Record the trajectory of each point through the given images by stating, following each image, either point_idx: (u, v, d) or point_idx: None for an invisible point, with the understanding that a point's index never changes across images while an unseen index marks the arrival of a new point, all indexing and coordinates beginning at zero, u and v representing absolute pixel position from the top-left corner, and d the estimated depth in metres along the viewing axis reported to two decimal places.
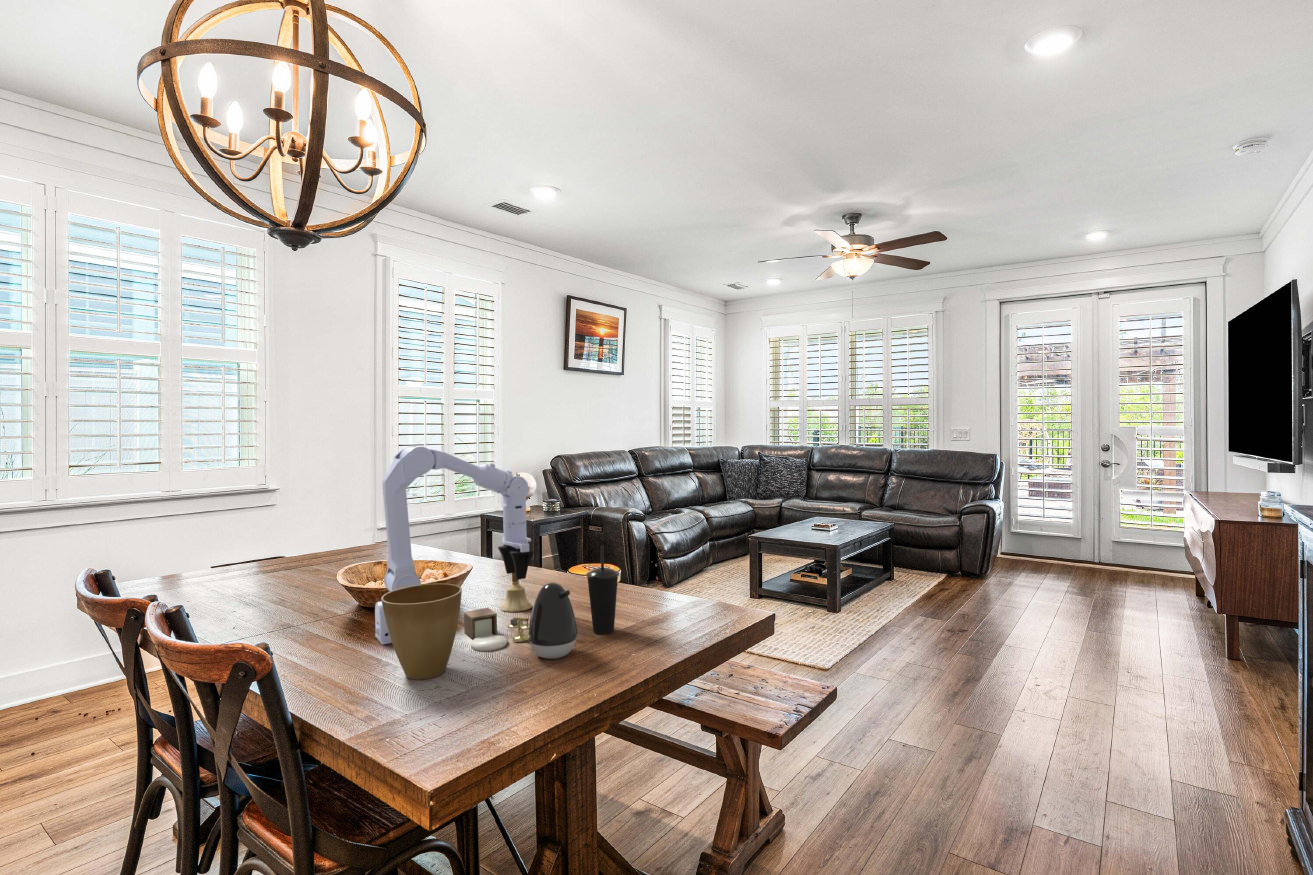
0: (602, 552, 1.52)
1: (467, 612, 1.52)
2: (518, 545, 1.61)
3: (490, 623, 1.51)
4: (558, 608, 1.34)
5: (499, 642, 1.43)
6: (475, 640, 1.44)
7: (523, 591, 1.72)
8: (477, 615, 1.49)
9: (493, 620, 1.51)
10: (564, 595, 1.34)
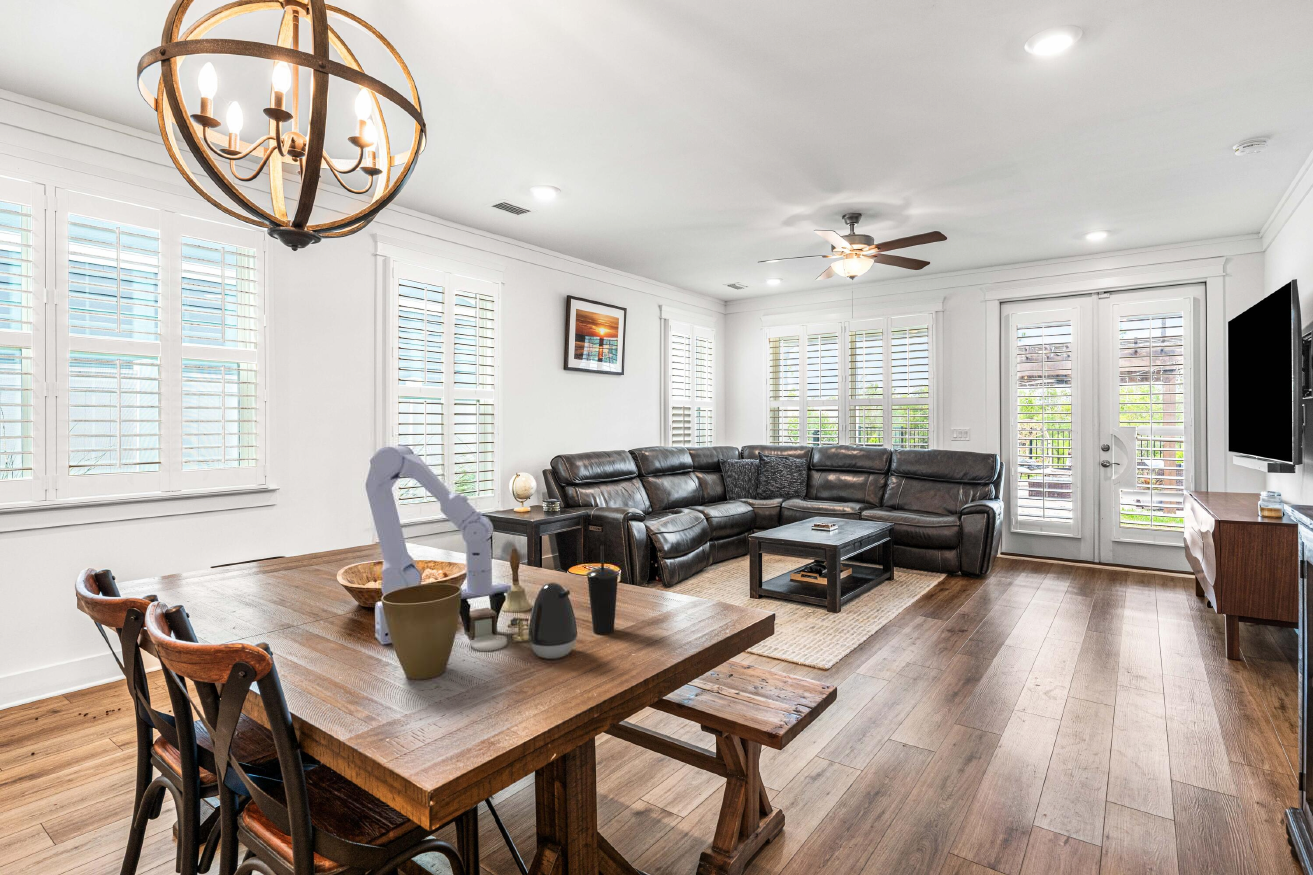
0: (602, 552, 1.52)
1: None
2: None
3: (490, 623, 1.51)
4: (558, 608, 1.34)
5: (499, 642, 1.43)
6: (475, 640, 1.44)
7: (523, 592, 1.72)
8: (477, 615, 1.49)
9: (493, 620, 1.51)
10: (564, 595, 1.34)
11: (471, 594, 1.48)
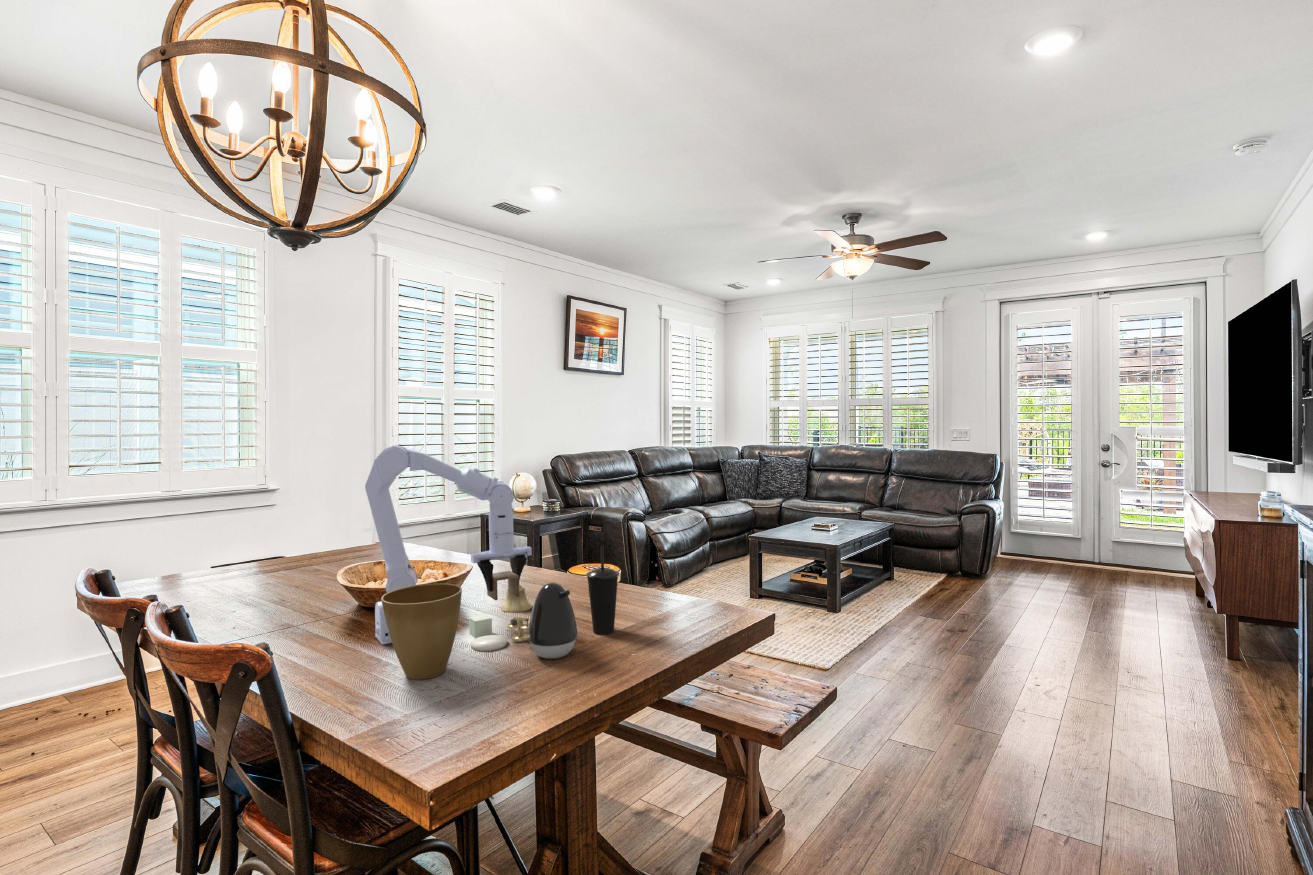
0: (602, 552, 1.52)
1: None
2: None
3: (490, 623, 1.51)
4: (558, 608, 1.34)
5: (499, 642, 1.43)
6: (475, 640, 1.44)
7: (523, 592, 1.72)
8: (500, 577, 1.55)
9: (515, 582, 1.57)
10: (564, 595, 1.34)
11: (494, 555, 1.54)
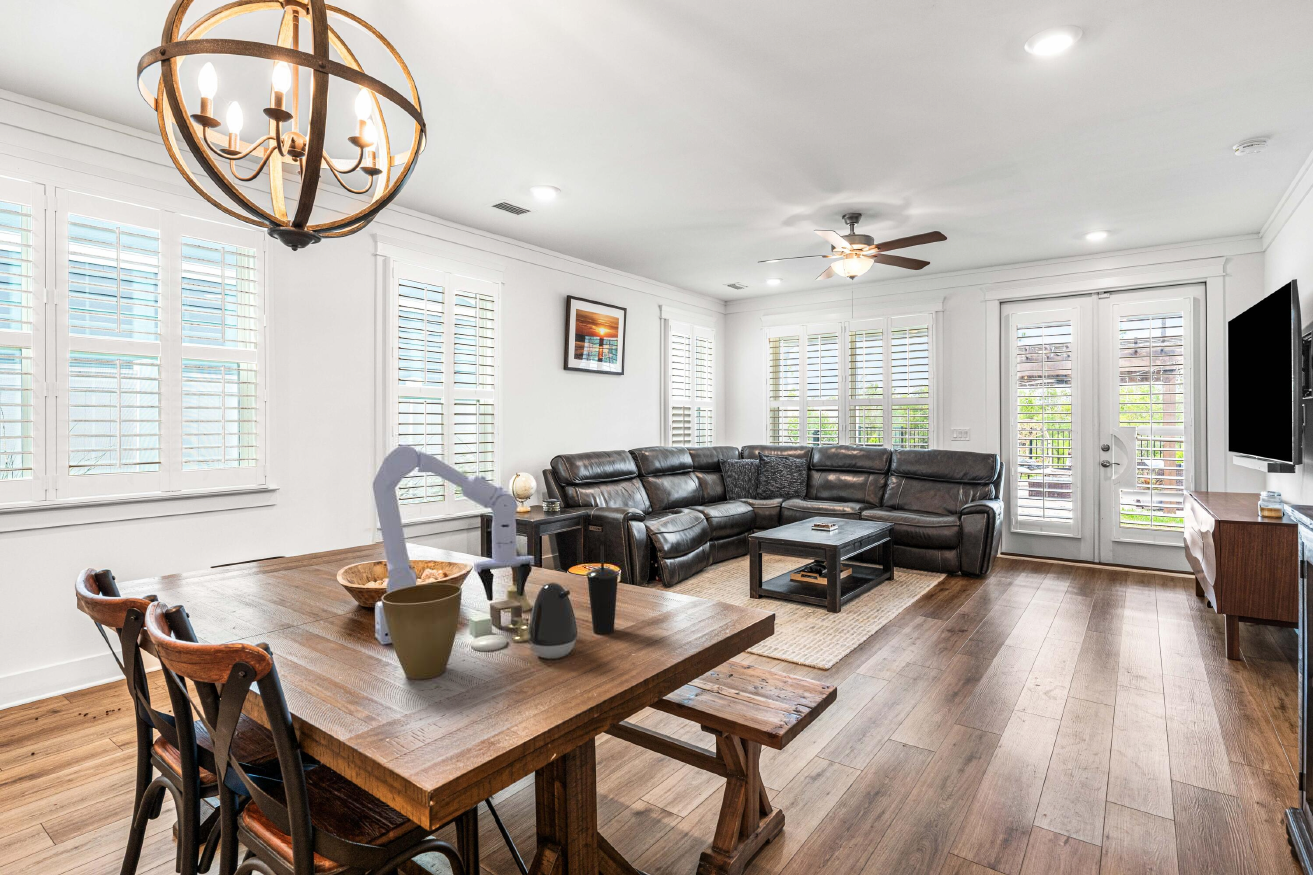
0: (602, 552, 1.52)
1: (493, 603, 1.59)
2: None
3: (490, 623, 1.51)
4: (558, 608, 1.34)
5: (499, 642, 1.43)
6: (475, 640, 1.44)
7: (523, 592, 1.72)
8: (503, 606, 1.56)
9: (518, 611, 1.58)
10: (564, 595, 1.34)
11: (497, 564, 1.55)
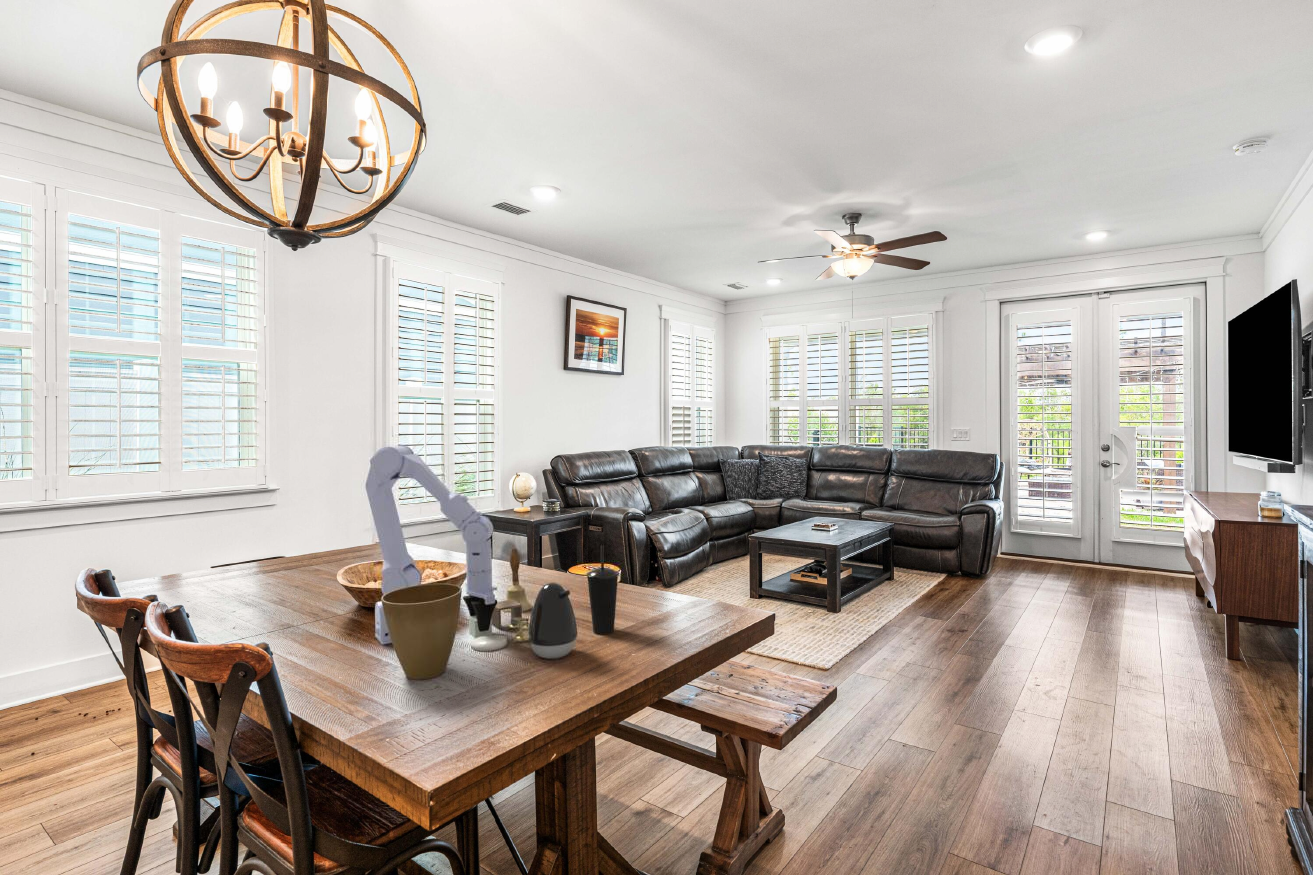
0: (602, 552, 1.52)
1: None
2: (482, 596, 1.46)
3: (490, 623, 1.51)
4: (558, 608, 1.34)
5: (499, 642, 1.43)
6: (475, 640, 1.44)
7: (523, 592, 1.72)
8: (503, 606, 1.56)
9: (518, 611, 1.58)
10: (564, 595, 1.34)
11: None
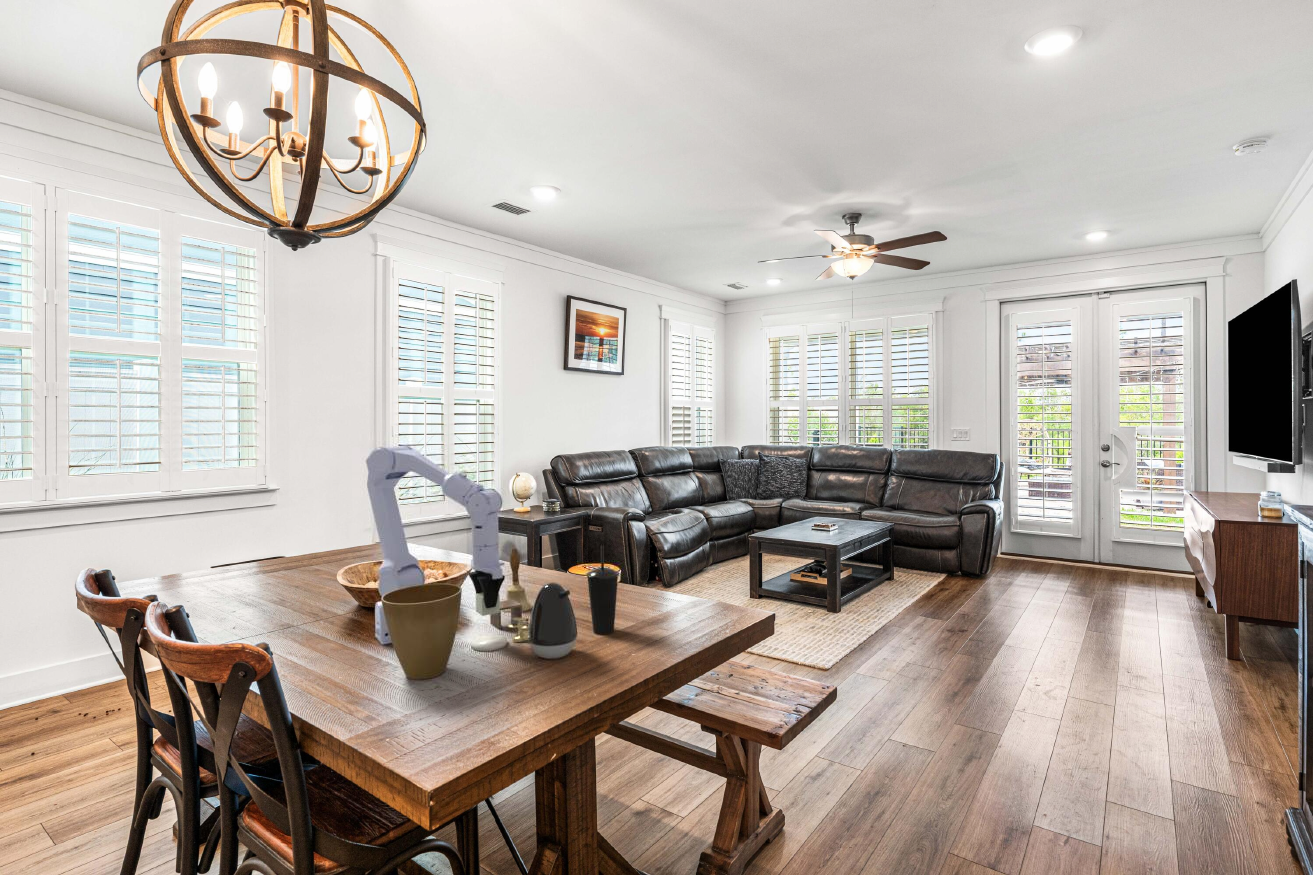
0: (602, 552, 1.52)
1: None
2: (489, 571, 1.40)
3: (498, 600, 1.45)
4: (558, 608, 1.34)
5: (499, 642, 1.43)
6: (475, 640, 1.44)
7: (523, 592, 1.72)
8: (503, 606, 1.56)
9: (518, 611, 1.58)
10: (564, 595, 1.34)
11: None
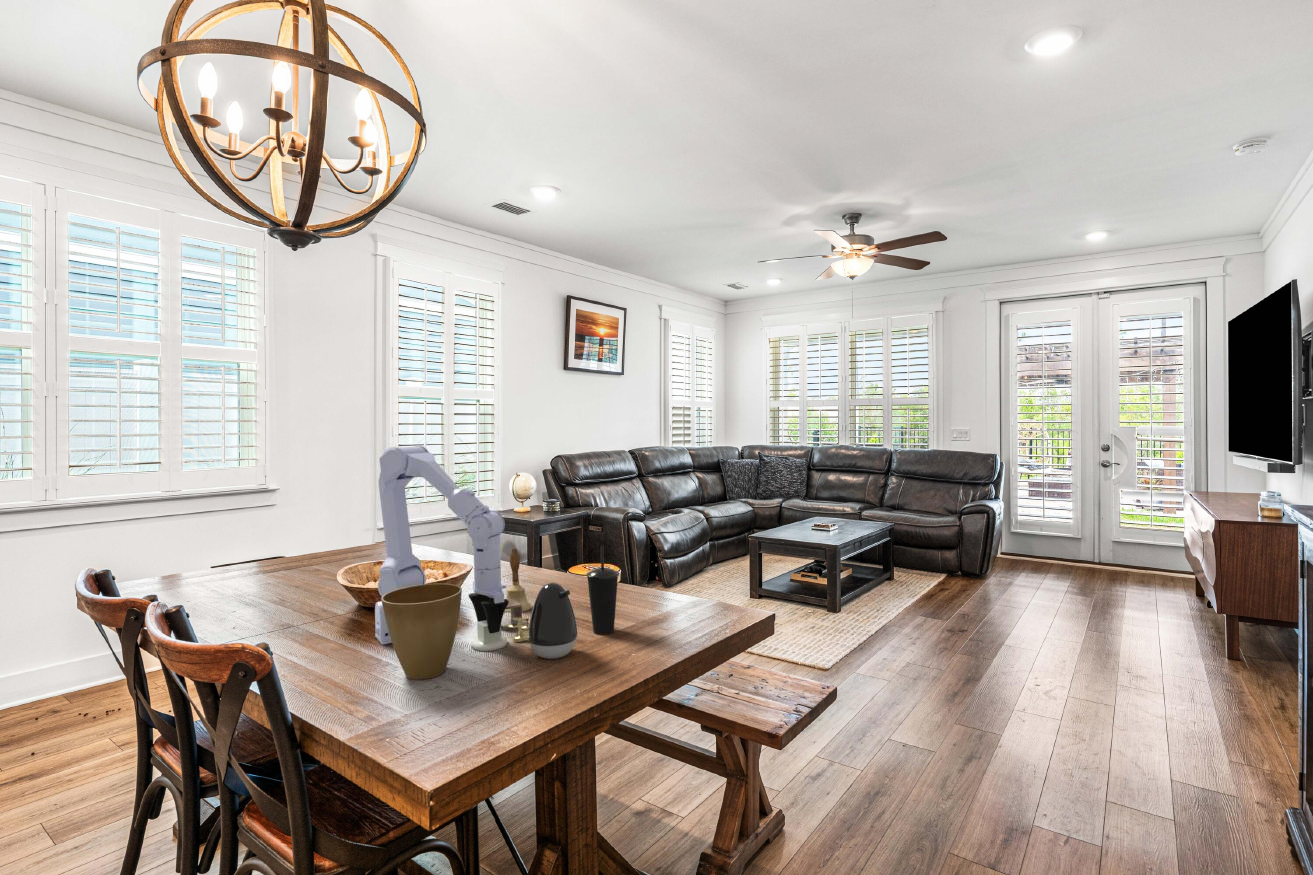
0: (602, 552, 1.52)
1: None
2: (491, 595, 1.39)
3: None
4: (558, 608, 1.34)
5: (499, 642, 1.43)
6: (475, 640, 1.44)
7: (523, 592, 1.72)
8: None
9: (518, 611, 1.58)
10: (564, 595, 1.34)
11: None
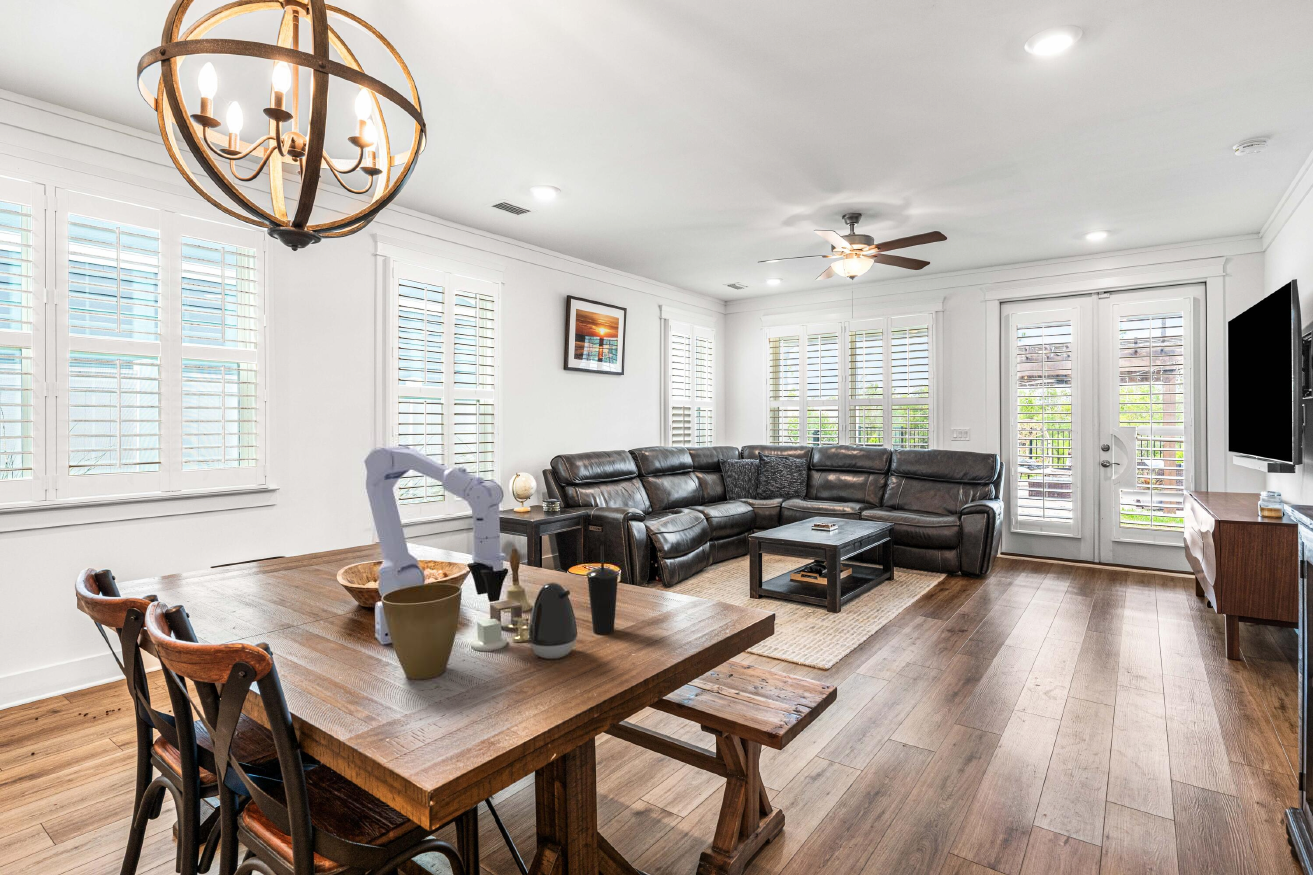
0: (602, 552, 1.52)
1: (493, 603, 1.59)
2: (490, 563, 1.40)
3: (499, 628, 1.44)
4: (558, 608, 1.34)
5: (499, 642, 1.43)
6: (475, 640, 1.44)
7: (523, 592, 1.72)
8: (503, 606, 1.56)
9: (518, 611, 1.58)
10: (564, 595, 1.34)
11: None
